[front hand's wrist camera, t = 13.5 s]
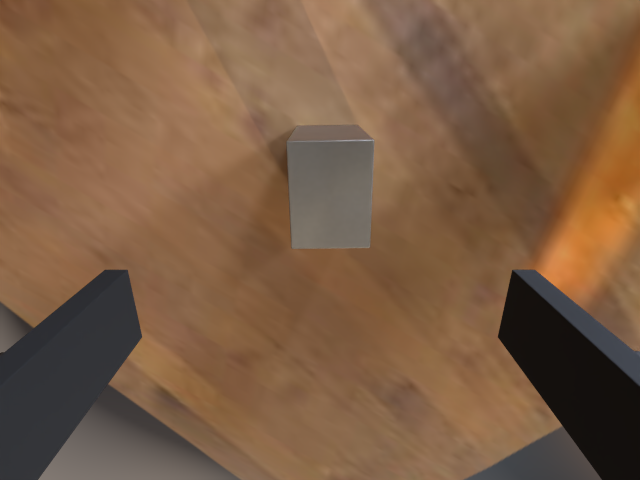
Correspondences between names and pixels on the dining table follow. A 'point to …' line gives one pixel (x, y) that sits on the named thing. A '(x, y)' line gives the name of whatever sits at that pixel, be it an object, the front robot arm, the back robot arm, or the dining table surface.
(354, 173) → the grey metallic rectangular block
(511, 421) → the dining table surface
